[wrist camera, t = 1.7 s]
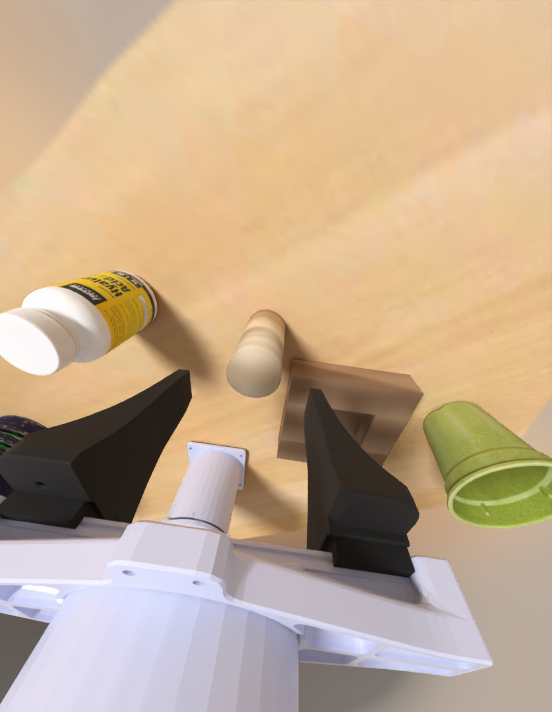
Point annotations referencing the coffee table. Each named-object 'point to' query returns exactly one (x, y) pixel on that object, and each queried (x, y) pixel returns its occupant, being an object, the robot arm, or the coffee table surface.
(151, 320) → the supplement bottle
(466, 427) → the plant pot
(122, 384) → the coffee table surface
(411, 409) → the socket block
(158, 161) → the coffee table surface
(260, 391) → the pin
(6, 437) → the storage jar
